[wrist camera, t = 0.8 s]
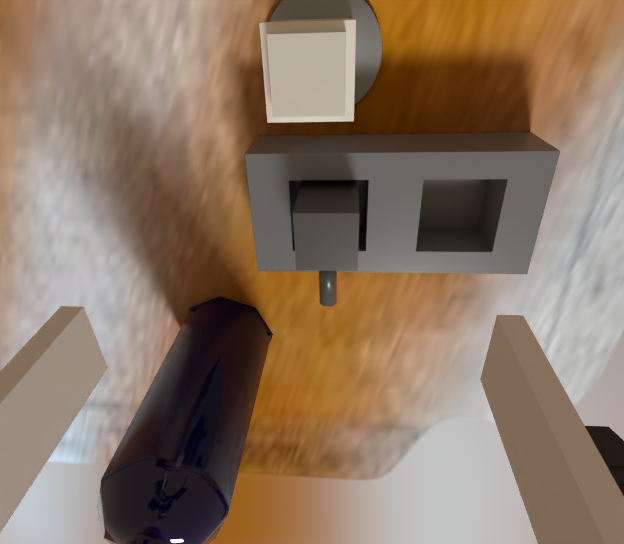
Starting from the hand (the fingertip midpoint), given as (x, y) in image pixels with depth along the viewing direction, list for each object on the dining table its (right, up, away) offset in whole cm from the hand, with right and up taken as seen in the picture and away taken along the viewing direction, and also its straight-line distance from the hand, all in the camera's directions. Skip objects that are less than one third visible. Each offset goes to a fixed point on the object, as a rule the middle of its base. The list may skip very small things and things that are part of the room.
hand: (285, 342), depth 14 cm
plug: (+2, +17, +15) cm, 23 cm away
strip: (+7, +9, +20) cm, 23 cm away
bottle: (-8, -4, +29) cm, 30 cm away
